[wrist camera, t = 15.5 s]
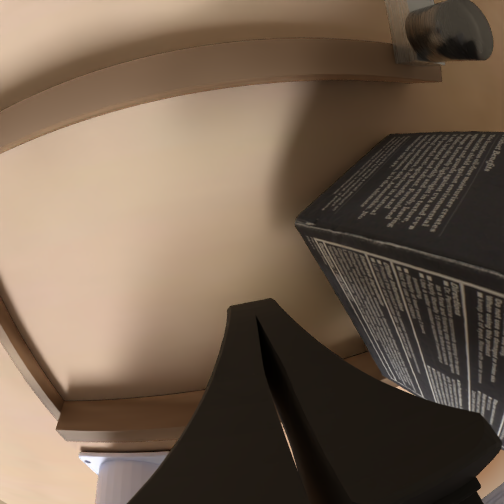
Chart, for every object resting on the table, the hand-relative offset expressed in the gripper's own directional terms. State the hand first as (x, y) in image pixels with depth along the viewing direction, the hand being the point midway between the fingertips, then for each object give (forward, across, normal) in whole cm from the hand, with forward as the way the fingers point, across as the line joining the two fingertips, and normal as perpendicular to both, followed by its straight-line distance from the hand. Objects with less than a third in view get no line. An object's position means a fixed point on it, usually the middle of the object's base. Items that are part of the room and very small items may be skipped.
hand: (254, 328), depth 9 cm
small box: (+3, -7, +1) cm, 7 cm away
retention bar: (+1, -6, -13) cm, 14 cm away
